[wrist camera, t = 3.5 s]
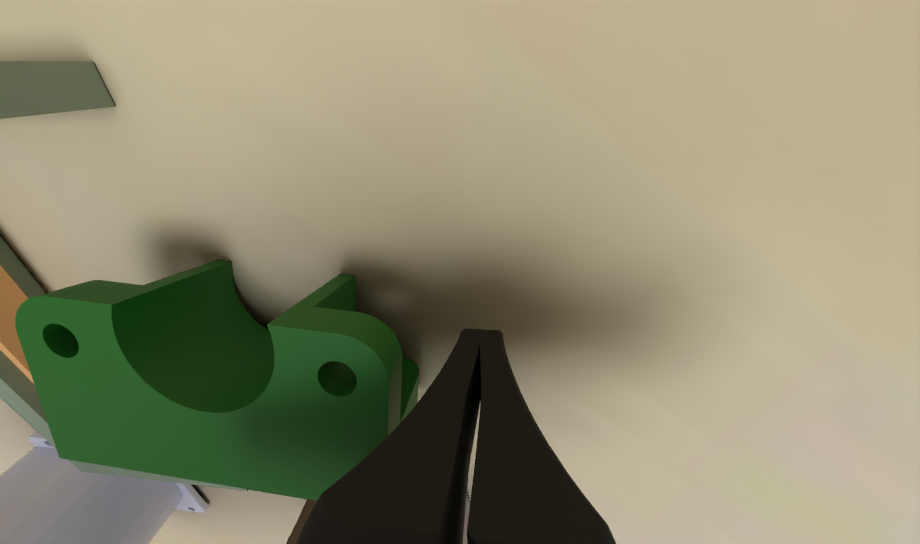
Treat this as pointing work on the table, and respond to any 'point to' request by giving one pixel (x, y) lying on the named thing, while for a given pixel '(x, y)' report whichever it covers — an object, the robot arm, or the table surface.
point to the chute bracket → (3, 275)
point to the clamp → (215, 380)
